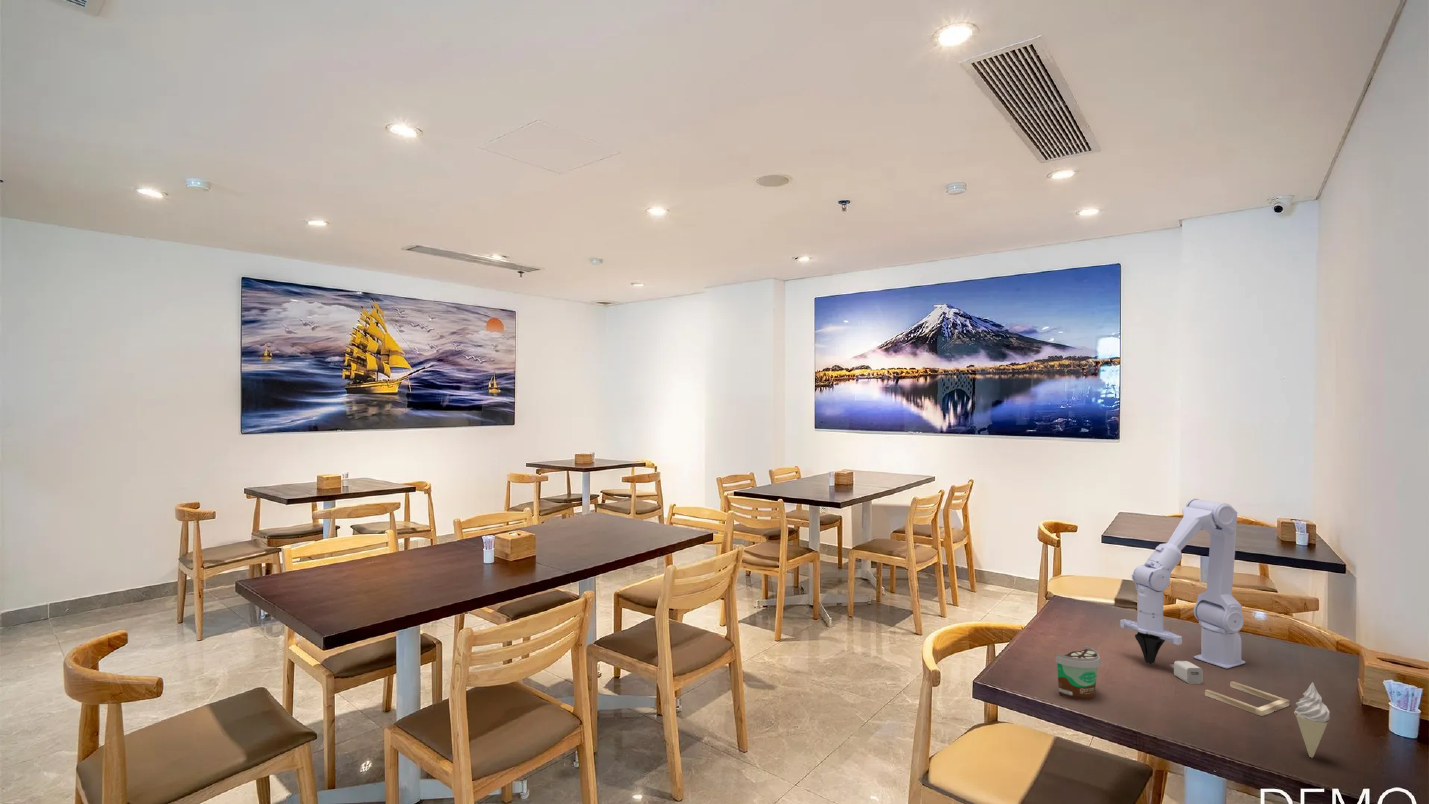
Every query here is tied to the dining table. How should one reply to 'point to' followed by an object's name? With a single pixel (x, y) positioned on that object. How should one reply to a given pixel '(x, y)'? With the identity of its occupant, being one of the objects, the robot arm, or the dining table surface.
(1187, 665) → the usb wall charger
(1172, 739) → the dining table surface
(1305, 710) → the ice cream cone
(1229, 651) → the robot arm
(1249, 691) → the charger bay
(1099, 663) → the food container
